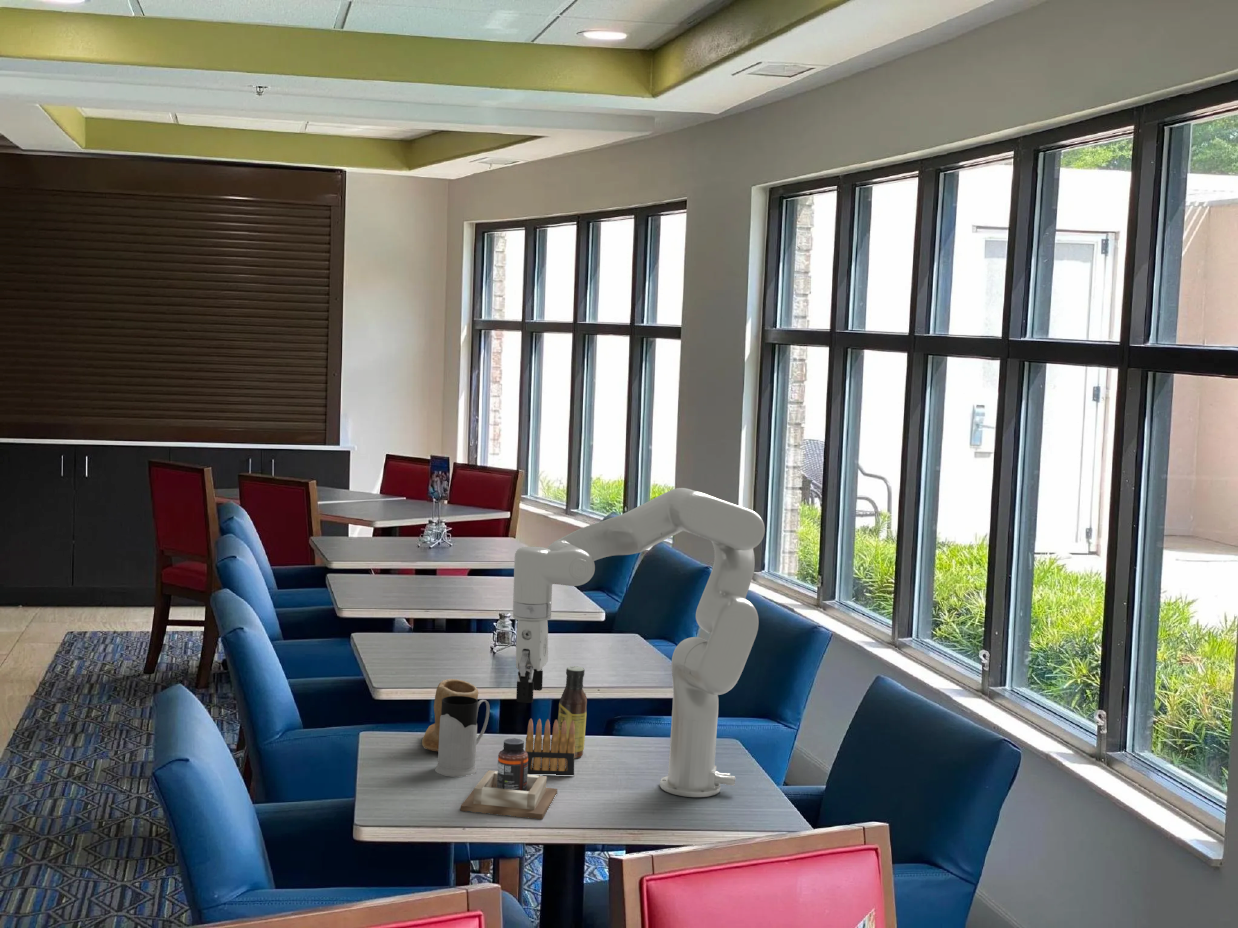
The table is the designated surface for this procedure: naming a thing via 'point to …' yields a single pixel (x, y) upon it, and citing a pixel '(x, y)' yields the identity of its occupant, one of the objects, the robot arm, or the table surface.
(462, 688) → the tan boot
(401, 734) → the table surface
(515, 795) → the board
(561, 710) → the sauce bottle
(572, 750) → the ammunition clip
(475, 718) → the black and white mug
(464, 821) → the table surface
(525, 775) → the supplement bottle
